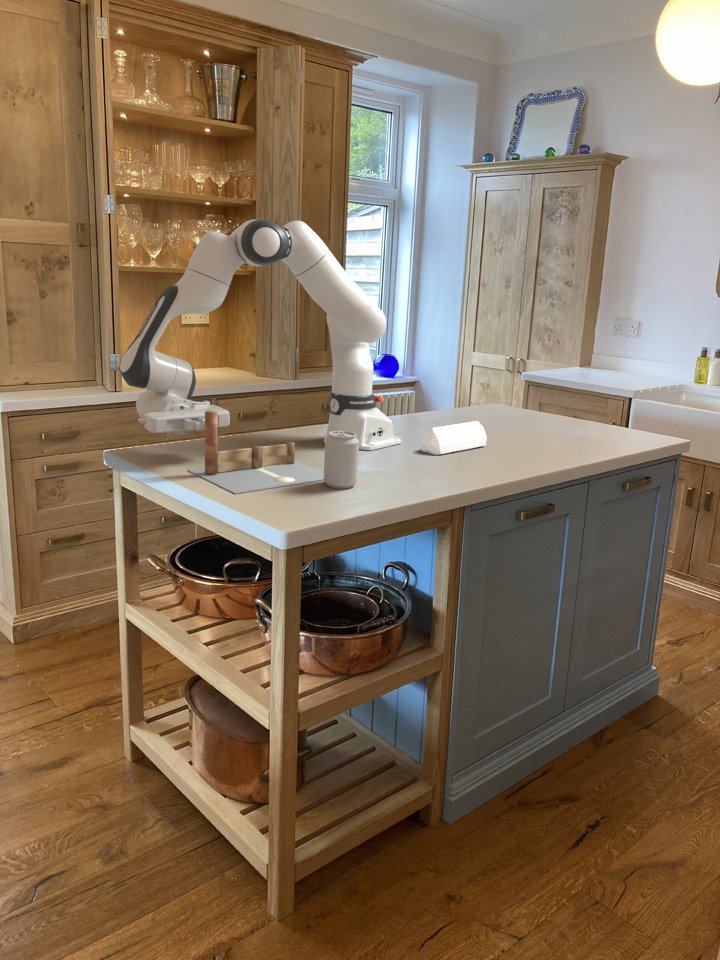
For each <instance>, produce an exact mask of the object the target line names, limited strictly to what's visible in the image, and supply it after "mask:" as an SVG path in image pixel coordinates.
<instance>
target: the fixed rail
mask: <svg viewBox="0 0 720 960" xmlns="http://www.w3.org/2000/svg"><path fill="white" fill-rule="evenodd" d="M295 445H296V443H295V442H294V441H293V442H292V441H286V442H284V443H283V444H275V445H264V446H260V445H253V446H251V449H252V468H253V469H260V468H261V466H270V465H277V464H284V463H285V464H294V461H295V453H296V452H295V451H296V450H295V449H296V448H295V447H296V446H295Z"/></svg>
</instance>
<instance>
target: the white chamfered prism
mask: <svg viewBox="0 0 720 960" xmlns="http://www.w3.org/2000/svg"><path fill="white" fill-rule="evenodd" d="M484 428H485V427H484V426H483V425H482V424H481V423H480V422H479V420H475V421H468V422H463V423H456V424H449V425H444V426H443V425H441V426H436V427H431V428H430V429H429V430H427V431H426V433H425V435H424V436H423V438H422V440H421V441H420V443H419V444H420V445H419V447H420V450H421V451H422V452H423V453H426V452H427V454H431V455H433V456H437V455H444V454H448V453H452V452H458V451H464V450H470V449H475V448H479V447H484V446H486V445H487V439H488V437H487V433H486V431H485V429H484Z"/></svg>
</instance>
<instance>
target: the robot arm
mask: <svg viewBox="0 0 720 960" xmlns="http://www.w3.org/2000/svg"><path fill="white" fill-rule="evenodd" d="M279 261H281V262H282V263H284V264H285V265H286V266H287V267H288V268H289V270H290V271H291V273H292V274H293V276H294V277H295V278H296V279H297V281H298V282H299V283H300V285H301V286H302V287H303V289H304V290H305V291H306V292H307V294H308V295H309V296H310V298H311V299H312V300H313V301H314V303H316V304H317V305H318V306H319V307H320V308H321V309H322V310H323V311H324V312H325V313H326V323H327V327H328V332H329V341H330V342H329V343H330V350H331V356H332V357H331V359H332V375H331V376H332V378H331V379H332V380H331V391H330V394H329V411H330V412H329V419H328V424H327V429H326V433H325V435H324V440H323V443H324V444H325V439H326V438H327V437H328V436H329V434H328V433H329V432H332V431H348V432H353V433H355V434H356V438H357V439H358V441H359V450H362V451H373V450H378V449H383V448H387V447H392V446H396V445H399V444H402V438H400V437H398V436H396V435H395V433H394V429H395V428H394V424H393V420H391V419H390V417H388V416H387V415H386V414H385V413H384V412H382V411H381V410H380V409H379V408H378V407H377V403H379V404H381V403H383V402H384V401H385V398H384V397H383V395H379V394H376V395H375V394H374V393H373V381H374V362H373V360H372V357H371V351H370V345H369V344H371V343H375V342H377V341H379V340H380V339H381V338H382V337H383V336H384V334H385V332H386V329H387V318H386V316H385V313H384V311H383V310H381V309H380V308H379V306H377V305H376V304H375V303H374V302H373V300H372V299H371V298H370V297H369V296H368V295H367V293H366V292H365V291H364V290H363V289H362V288H361V287H360V285H358V284H357V283H356V282H355V281H354V280H353V279H352V278H351V276H350V275H349V274H348V273H347V271H346V270H344V268H343V266H342V265H341V264H340V263H339V261H338V260H337V258H336V257H335V256H334V254H333V253H332V251H331V250H330V249H329V247H328V246H327V244H325V242H324V241H323V239H321V237H320V236H319V235H318V234H317V233H316V232H315V231H314V230H313V229H312V228H311V227H310V226H309V225H308V224H307V223H305V222H304V221H302V220H292V221H290V222H288V223H286V224H284V225H283V226H282V225H280V224H279V223H276V222H274V221H272V220H269V219H264V218H257V219H256V218H255V219H249V220H247V221H245V222H243V223H241V224H239V225H237V226H236V227H234V229H232V231H230V232H229V233H227V234H225V233H222V232H219V231H209V232H207V233H205V234H203V236H202V237H201V239H200V240H199V242H198V243H197V245H196V247H195V249H194V251H193V253H192V254H191V257H190V259H189V261H188V264H187V266H186V268H185V272H184V273H183V275H182V276H181V278H180V279H179V280H178V281H177V282H176V283H175V284H173V285H169V286H166V288H165V289H164V290H163V291H162V292H161V294H160V295H159V296H158V298H157V299H156V301H155V303H154V305H153V306H152V308H151V309H150V311H149V313H148V315H147V317H146V318H145V320H144V322H143V324H142V326H141V328H140V329H139V331H138V332H137V334H136V336H135V338H134V340H133V341H132V342H131V343H130V345H129V346H128V348H127V349H126V350H125V352H124V353H123V355H122V357H121V359H120V363H119V367H118V368H119V369H118V370H119V373H120V375H121V378H122V379H123V381H125V383H126V384H127V385H128V386H130V387H135V388H137V389H138V388H139V389H145V391H143V392H141V393H140V394H139V395H138V396H137V398H136V401H135V409H136V412H137V414H138V416H139V417H140V418H138V420H137V422H138V423H140V424H144V428H145V430H147V431H148V432H149V433H151V434H164V433H169V434H171V435H175V436H179V435H184V434H185V433H187V432H188V433H189V432H191V431H194V430H195V431H205V412H206V411H216V412H218V428H223V427H224V428H226V427H229V425H230V422H231V420H230V419H231V418H230V417H231V415H230V411H229V410H227V409H225V408H222V407H220V406H217V405H216V404H211V402H210V401H208V400H197V399H191V398H192V396H193V394H194V392H195V389H196V388H195V387H196V384H197V380H196V379H197V377H196V373H195V369H194V368H193V366H192V364H191V363H190V362H189V361H186V360H183V359H181V358H178V357H175V356H171V355H168V354H165V353H163V352H160V351H158V350H157V351H156V350H155V349H156V346H157V345H158V342H159V341H160V339H161V337H162V335H163V334H164V333H165V330H166V328H167V327H168V325H169V323H170V322H171V320H173V319H175V318H176V317H178V316H181V315H189V314H190V315H191V314H197V315H198V314H206V313H211V312H213V311H215V310H217V309H218V308H220V307H221V306H222V304H223V302H224V301H225V299H226V297H227V294H228V291H229V289H230V285H231V283H232V280H233V277H234V275H235V273H236V272H237V269H239V267H241V265H242V266H251V267H252V266H253V267H263V266H268V265H271V264H275V263H277V262H279Z"/></svg>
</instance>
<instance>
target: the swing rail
mask: <svg viewBox="0 0 720 960" xmlns="http://www.w3.org/2000/svg"><path fill="white" fill-rule="evenodd" d="M218 428H219V427H218V412H216V411H206V412H205V430H204V467H205V473H206V474H217V472H225V471H232V470H239V469H246V468H252V449H251V448H250V447H246V448H238V449H229V450H222V451H221V450H220V451H218V449H219V448H218V446H219V445H218V442H219V441H218V440H219V439H218V438H219V437H218V435H219V434H218Z"/></svg>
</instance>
